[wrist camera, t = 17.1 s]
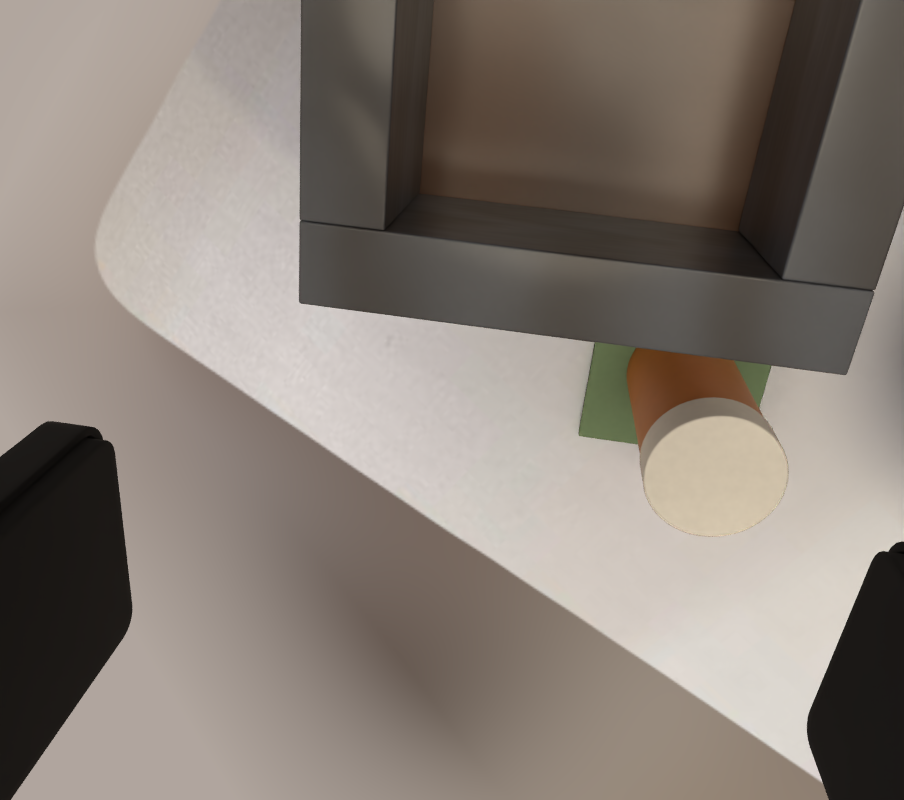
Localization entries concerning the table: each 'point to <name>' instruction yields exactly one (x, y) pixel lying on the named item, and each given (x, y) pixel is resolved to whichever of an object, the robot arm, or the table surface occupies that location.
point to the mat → (610, 396)
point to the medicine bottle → (703, 443)
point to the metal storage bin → (606, 168)
